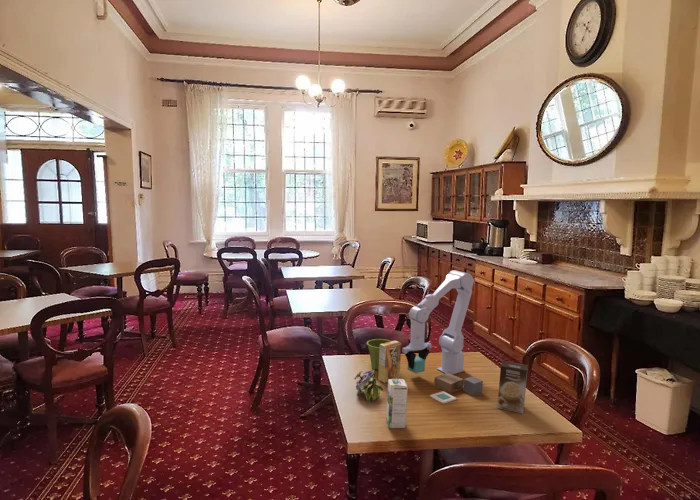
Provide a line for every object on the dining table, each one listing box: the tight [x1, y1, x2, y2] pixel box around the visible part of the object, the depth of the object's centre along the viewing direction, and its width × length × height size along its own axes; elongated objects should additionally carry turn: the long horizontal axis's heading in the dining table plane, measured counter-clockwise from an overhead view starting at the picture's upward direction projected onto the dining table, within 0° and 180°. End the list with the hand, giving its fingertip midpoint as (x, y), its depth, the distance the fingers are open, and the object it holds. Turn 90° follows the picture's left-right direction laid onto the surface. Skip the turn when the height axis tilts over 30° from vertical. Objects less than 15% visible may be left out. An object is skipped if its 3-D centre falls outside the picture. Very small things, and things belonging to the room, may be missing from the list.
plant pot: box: [366, 338, 392, 371], centre depth 192 cm, size 12×12×11 cm
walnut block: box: [433, 373, 464, 394], centre depth 175 cm, size 8×8×4 cm
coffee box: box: [496, 359, 529, 414], centre depth 158 cm, size 9×6×16 cm
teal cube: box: [407, 355, 426, 375], centre depth 183 cm, size 5×5×5 cm
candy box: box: [377, 340, 402, 383], centre depth 180 cm, size 9×4×15 cm, turn 129°
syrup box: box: [385, 378, 409, 429], centre depth 144 cm, size 6×6×14 cm
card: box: [429, 390, 458, 405], centre depth 165 cm, size 7×7×1 cm
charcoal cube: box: [462, 376, 484, 397], centre depth 171 cm, size 5×5×5 cm
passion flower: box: [354, 369, 386, 403], centre depth 165 cm, size 11×11×12 cm
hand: (416, 366), depth 183 cm, fingers closed on teal cube, 5 cm apart
